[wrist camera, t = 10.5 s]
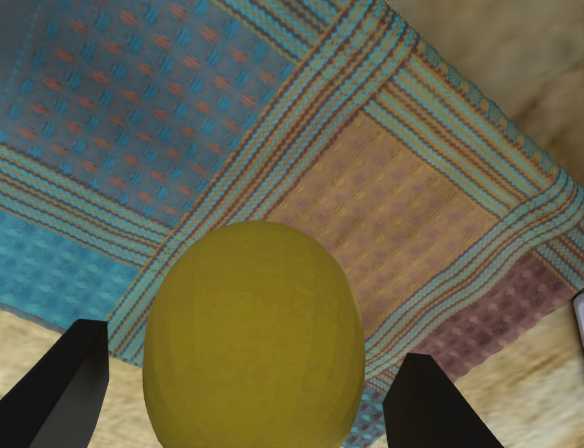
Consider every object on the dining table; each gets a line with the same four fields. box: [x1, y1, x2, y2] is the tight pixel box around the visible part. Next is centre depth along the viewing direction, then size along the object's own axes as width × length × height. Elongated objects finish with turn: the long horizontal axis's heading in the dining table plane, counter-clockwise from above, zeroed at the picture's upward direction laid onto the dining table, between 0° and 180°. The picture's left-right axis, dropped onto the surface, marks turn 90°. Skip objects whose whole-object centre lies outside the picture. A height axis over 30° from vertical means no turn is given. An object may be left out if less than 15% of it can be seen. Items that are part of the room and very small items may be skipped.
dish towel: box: [0, 0, 584, 448], centre depth 16 cm, size 17×23×2 cm
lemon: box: [143, 220, 366, 448], centre depth 11 cm, size 6×6×8 cm
